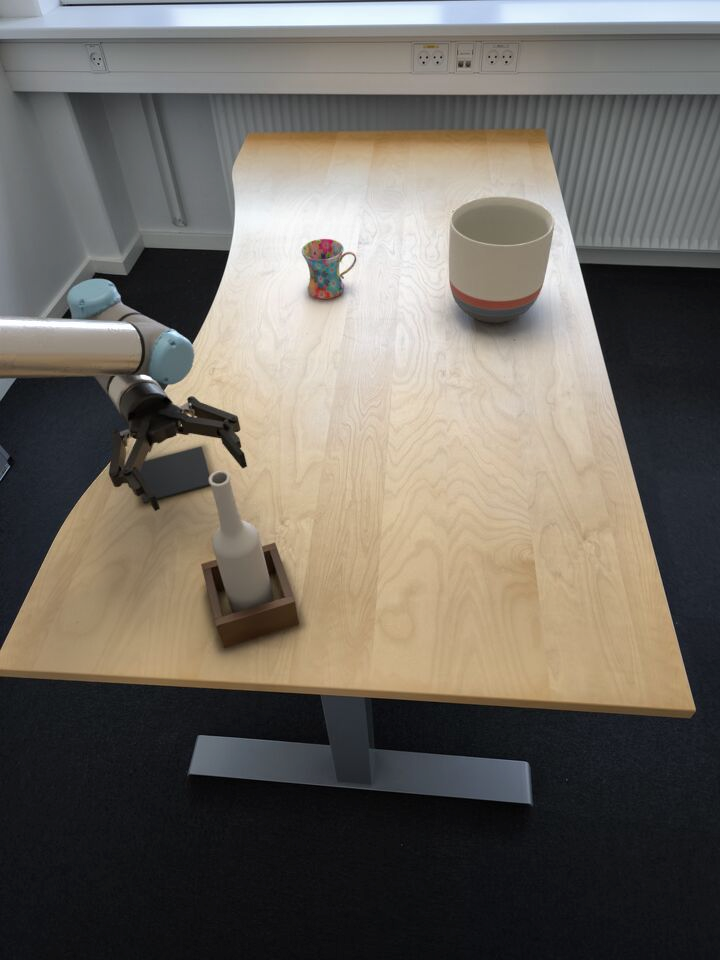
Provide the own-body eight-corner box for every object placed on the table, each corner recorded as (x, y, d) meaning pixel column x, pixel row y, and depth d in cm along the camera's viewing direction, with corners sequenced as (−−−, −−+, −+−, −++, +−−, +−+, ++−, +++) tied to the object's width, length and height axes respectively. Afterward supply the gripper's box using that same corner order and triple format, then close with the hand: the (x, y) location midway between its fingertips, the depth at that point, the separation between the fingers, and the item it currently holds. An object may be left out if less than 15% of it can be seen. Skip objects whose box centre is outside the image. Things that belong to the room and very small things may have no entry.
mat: (143, 503, 126) (143, 501, 125) (136, 465, 132) (135, 463, 132) (212, 485, 128) (211, 483, 128) (202, 448, 135) (201, 446, 134)
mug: (306, 304, 166) (302, 261, 158) (305, 282, 172) (300, 240, 164) (359, 299, 166) (357, 257, 158) (356, 277, 172) (353, 235, 165)
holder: (223, 648, 105) (215, 625, 101) (208, 587, 113) (200, 563, 109) (299, 624, 108) (295, 601, 103) (280, 565, 115) (275, 542, 111)
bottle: (276, 586, 112) (248, 458, 92) (272, 623, 108) (242, 497, 88) (234, 587, 113) (196, 459, 92) (228, 624, 108) (187, 498, 88)
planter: (536, 287, 166) (549, 195, 151) (543, 340, 152) (559, 245, 137) (446, 286, 168) (450, 196, 152) (445, 339, 154) (450, 245, 139)
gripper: (217, 389, 122) (281, 462, 109) (73, 452, 113) (123, 539, 100) (208, 353, 116) (274, 425, 104) (56, 416, 107) (107, 503, 95)
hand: (200, 481), depth 102 cm, fingers open, 13 cm apart
